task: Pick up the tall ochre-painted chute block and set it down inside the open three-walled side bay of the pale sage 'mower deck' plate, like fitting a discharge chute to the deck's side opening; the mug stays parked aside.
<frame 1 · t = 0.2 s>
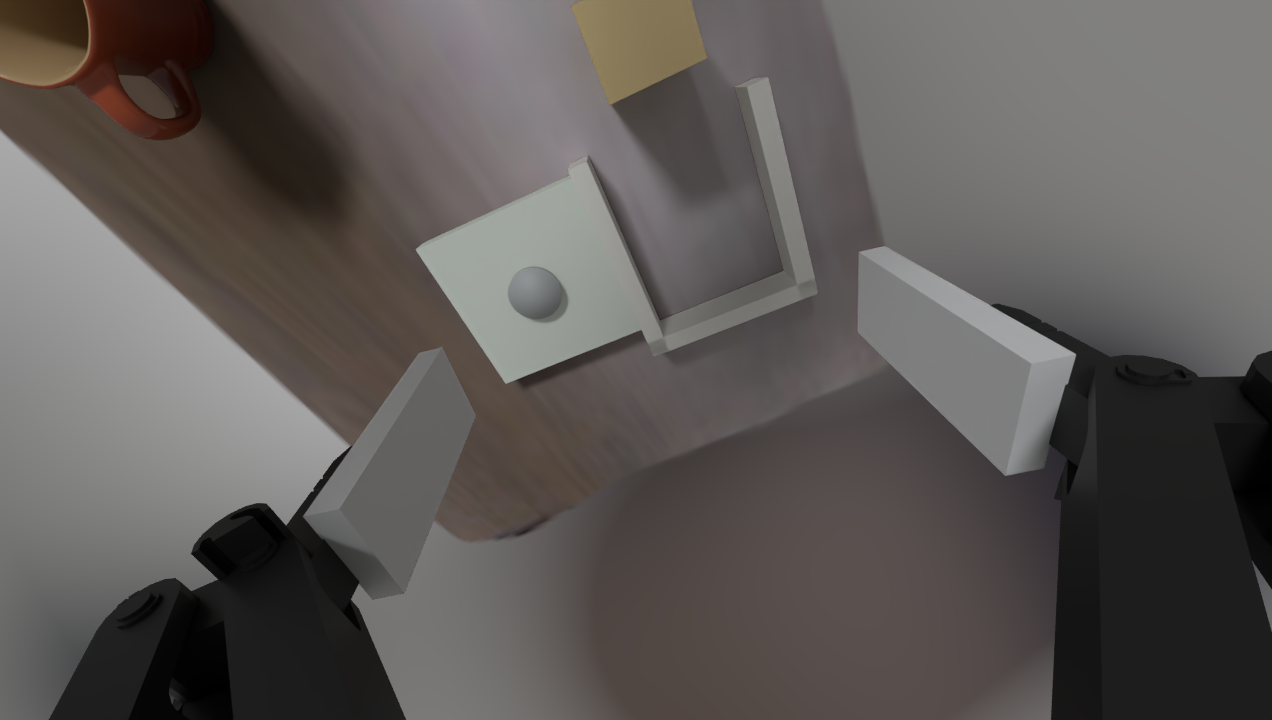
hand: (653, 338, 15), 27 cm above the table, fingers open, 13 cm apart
chute block: (632, 45, 34), on the table
deck: (605, 254, 41), on the table
mug: (184, 38, 32), on the table
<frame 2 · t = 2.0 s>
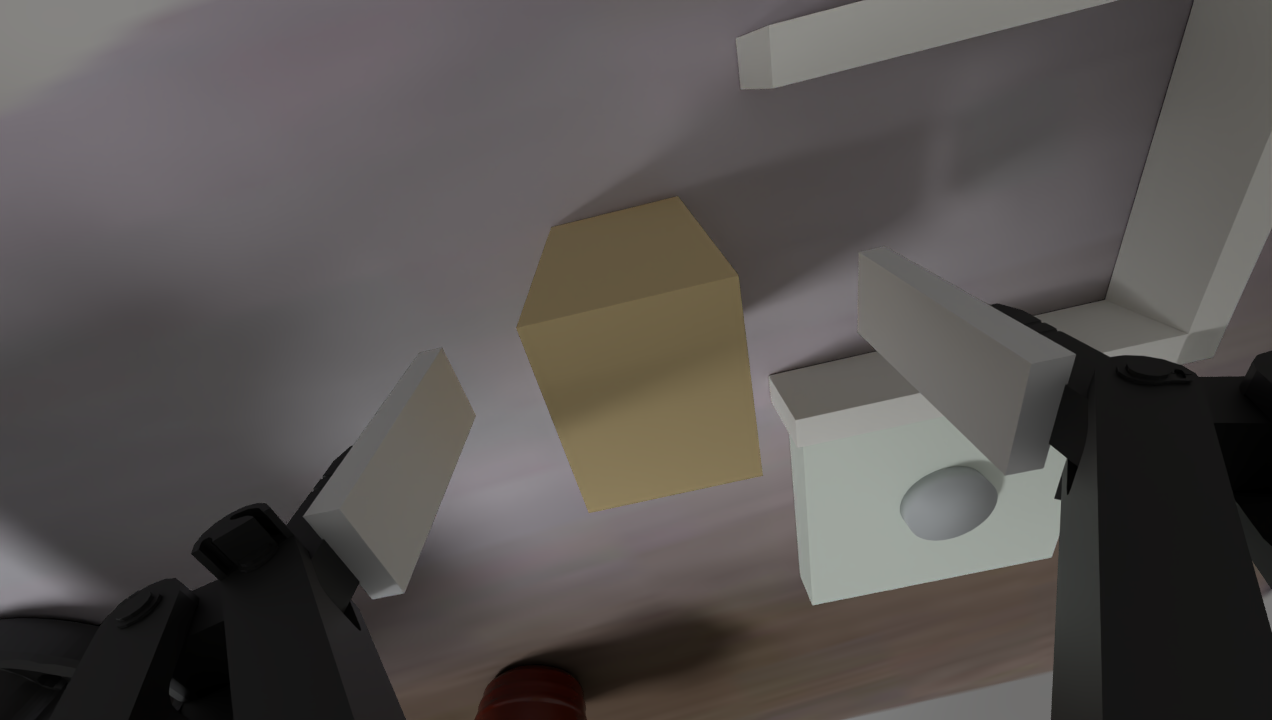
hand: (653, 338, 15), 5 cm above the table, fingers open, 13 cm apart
chute block: (631, 283, 20), on the table
deck: (930, 374, 23), on the table
mug: (556, 678, 34), on the table
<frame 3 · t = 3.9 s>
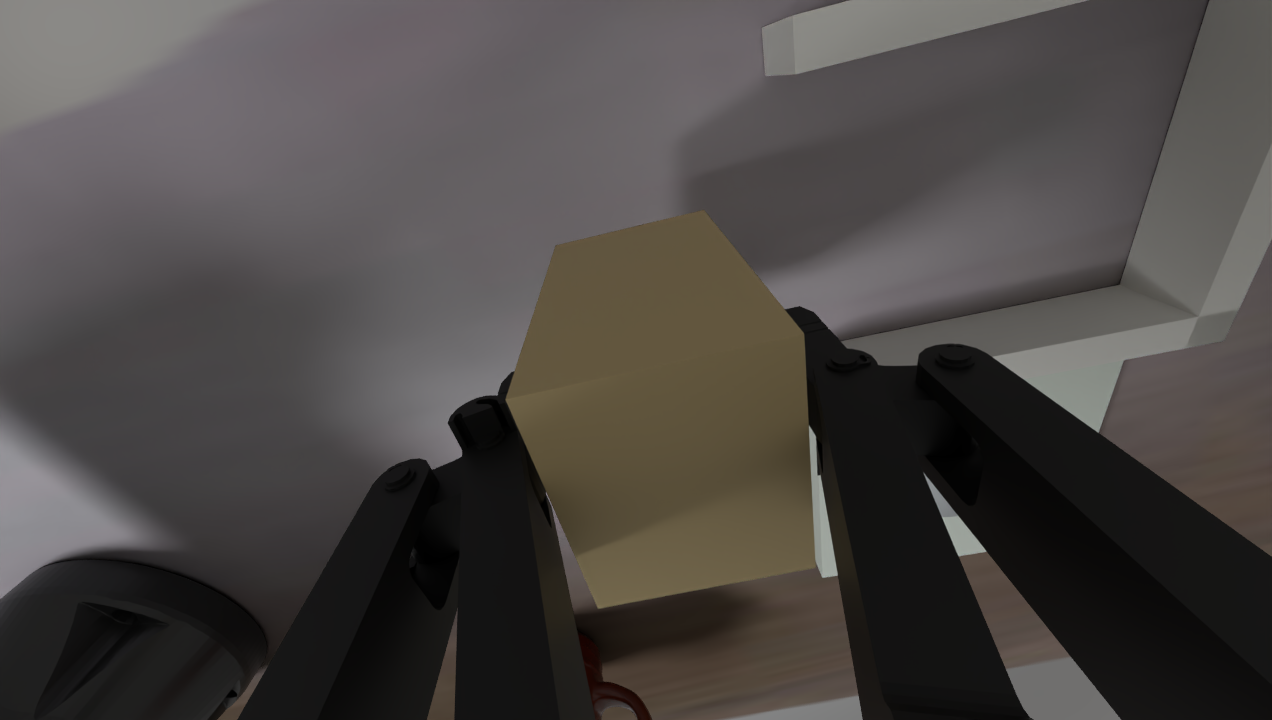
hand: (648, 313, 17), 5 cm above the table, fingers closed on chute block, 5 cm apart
chute block: (647, 309, 17), point 5 cm above the table, touching gripper
deck: (943, 354, 24), on the table
mug: (575, 641, 36), on the table
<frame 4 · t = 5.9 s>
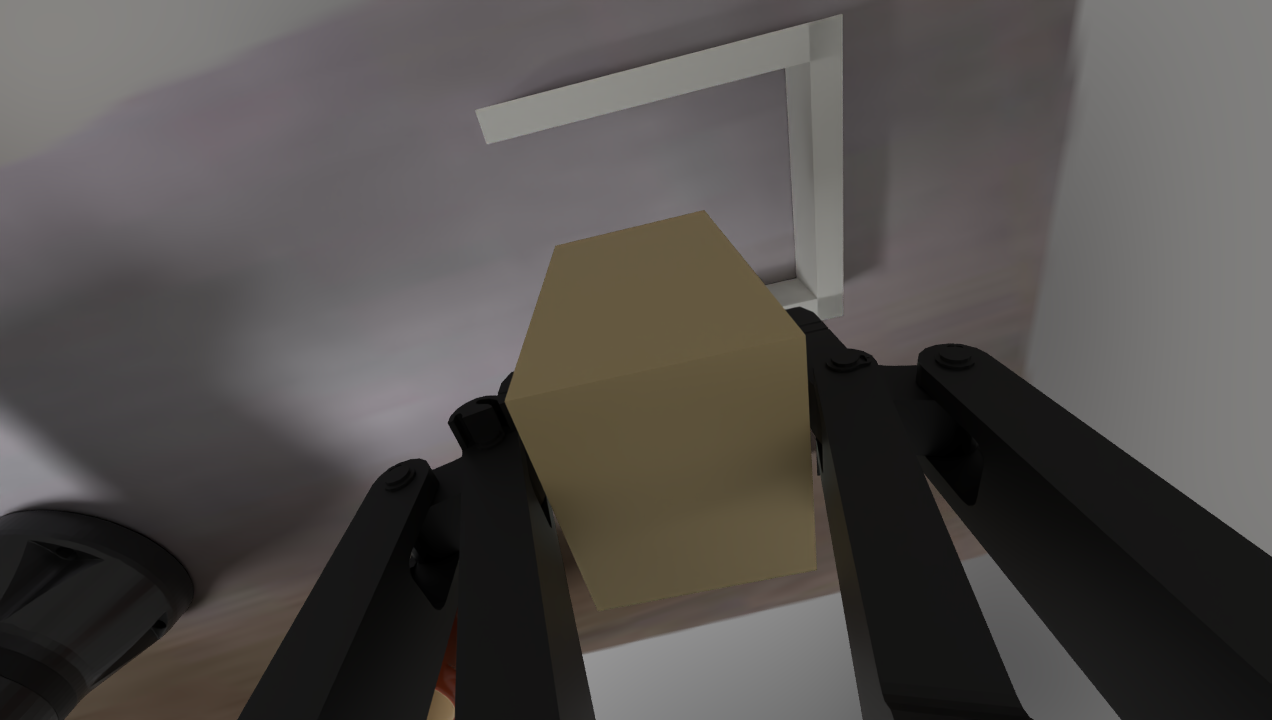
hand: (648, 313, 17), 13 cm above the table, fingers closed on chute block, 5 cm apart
chute block: (647, 310, 17), point 13 cm above the table, touching gripper
deck: (684, 331, 32), on the table
mug: (455, 578, 44), on the table
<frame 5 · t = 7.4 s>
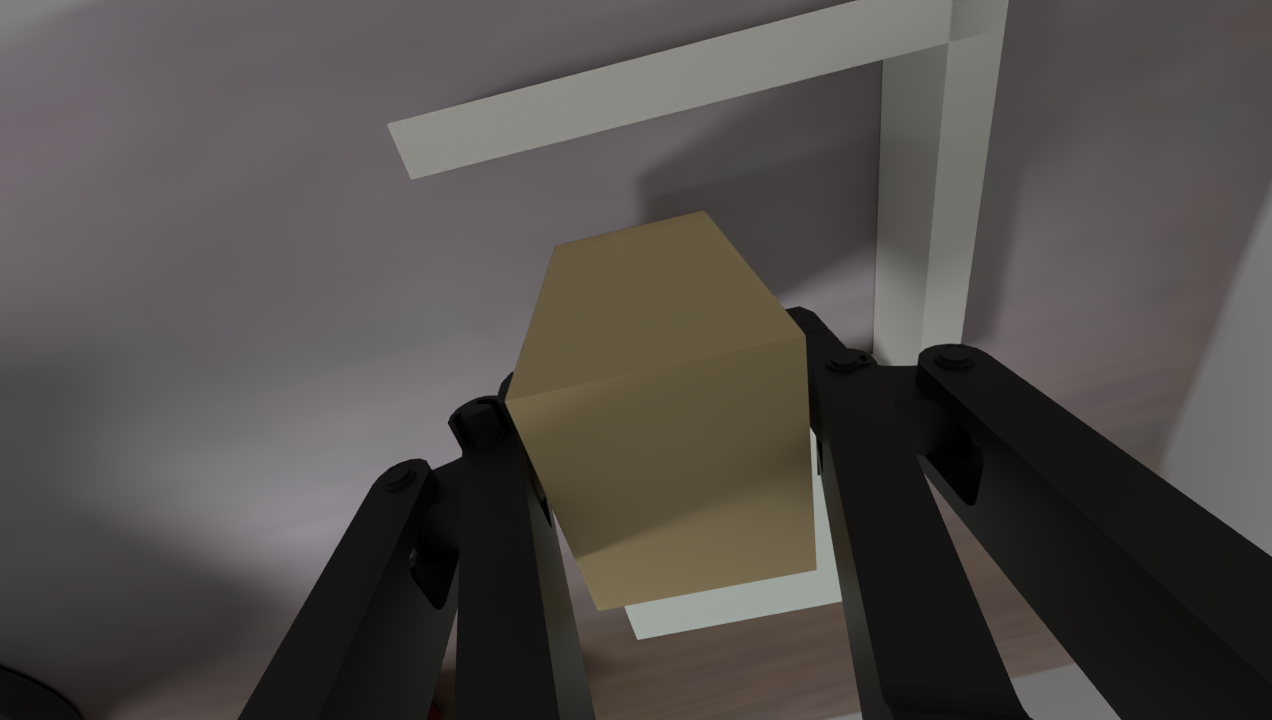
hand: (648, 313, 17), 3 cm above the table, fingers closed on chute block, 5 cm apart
chute block: (647, 310, 17), point 3 cm above the table, touching gripper
deck: (713, 422, 23), on the table
when the fingers open (1 cm above the table, at t = 8.2 s): chute block stays where it is, on the table.
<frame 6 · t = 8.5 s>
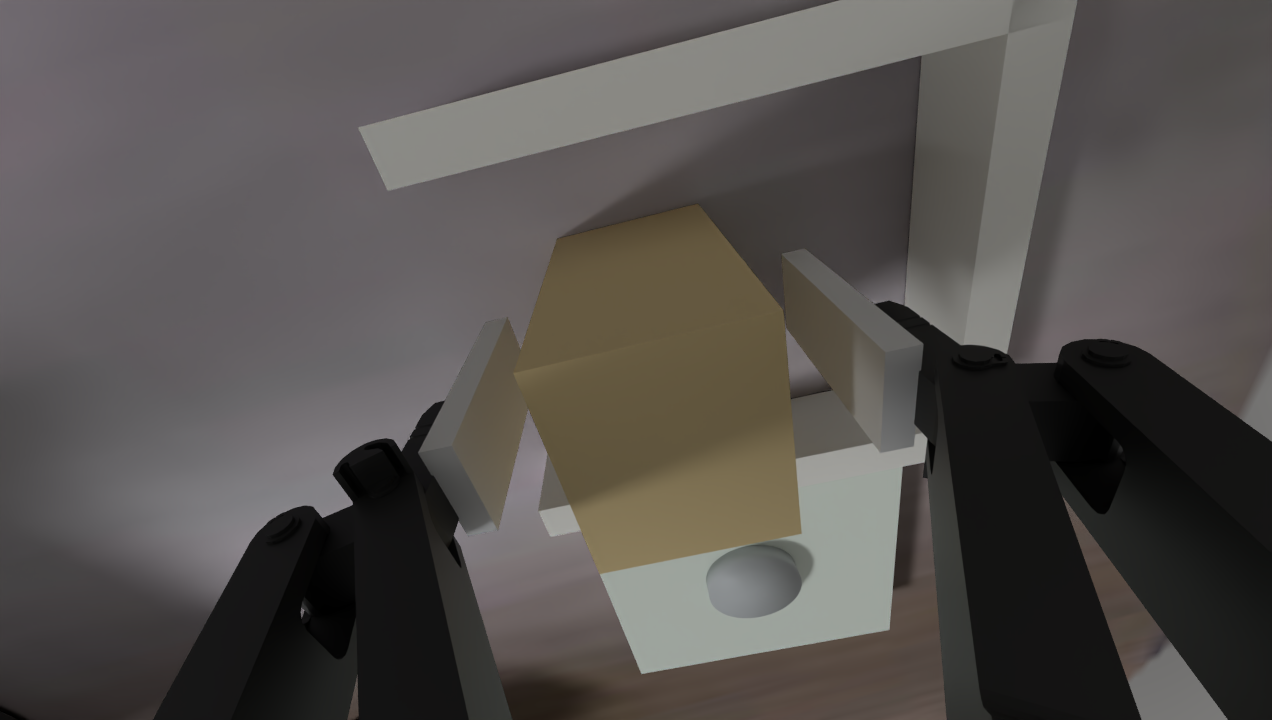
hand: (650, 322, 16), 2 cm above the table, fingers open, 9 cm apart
chute block: (645, 299, 18), on the table
deck: (725, 448, 22), on the table
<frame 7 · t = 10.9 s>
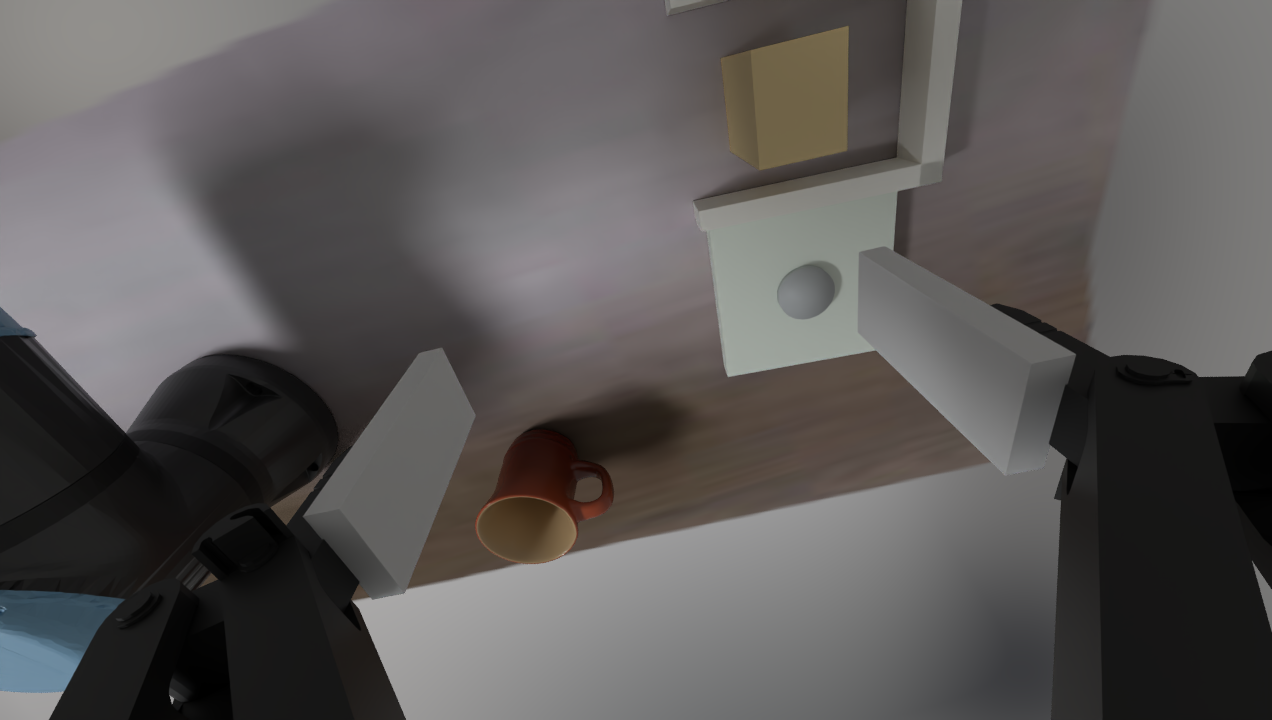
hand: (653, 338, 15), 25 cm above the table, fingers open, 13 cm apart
chute block: (760, 98, 34), on the table
deck: (793, 205, 37), on the table
mug: (559, 447, 50), on the table
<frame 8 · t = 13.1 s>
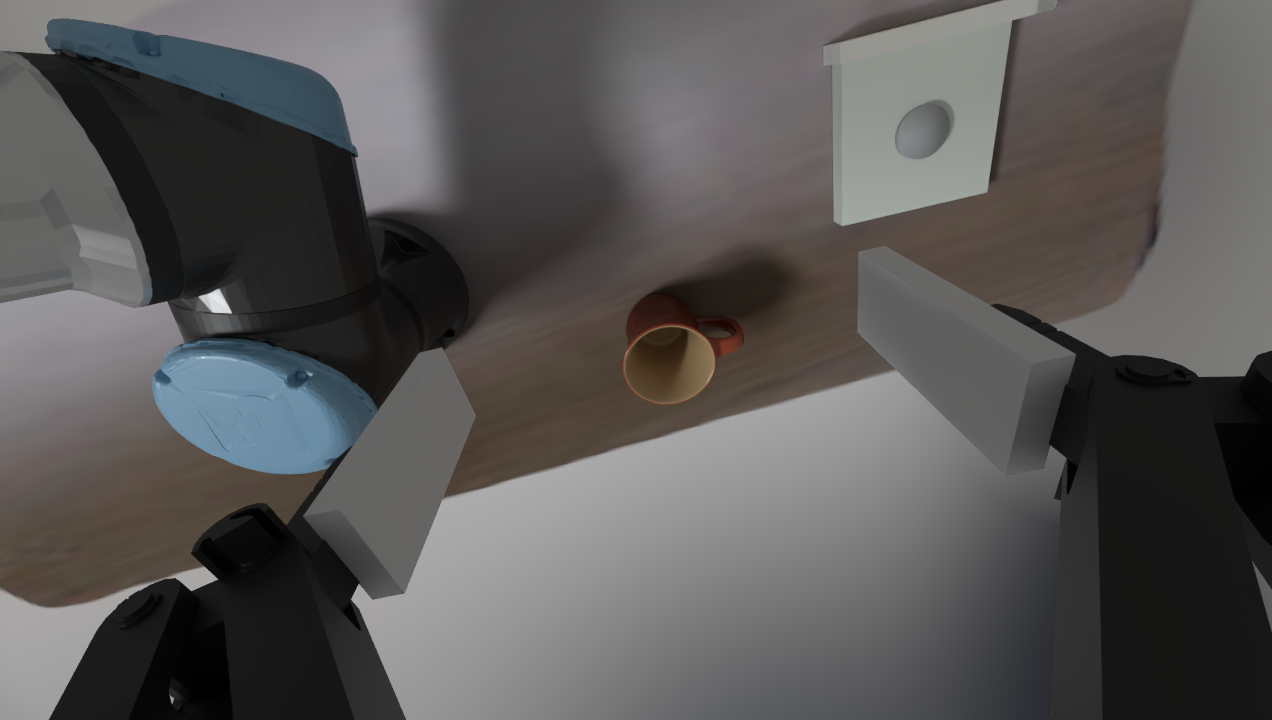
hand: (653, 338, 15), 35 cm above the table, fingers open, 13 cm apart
deck: (912, 49, 41), on the table
mug: (672, 315, 53), on the table
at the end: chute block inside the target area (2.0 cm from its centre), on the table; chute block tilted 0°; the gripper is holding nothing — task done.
